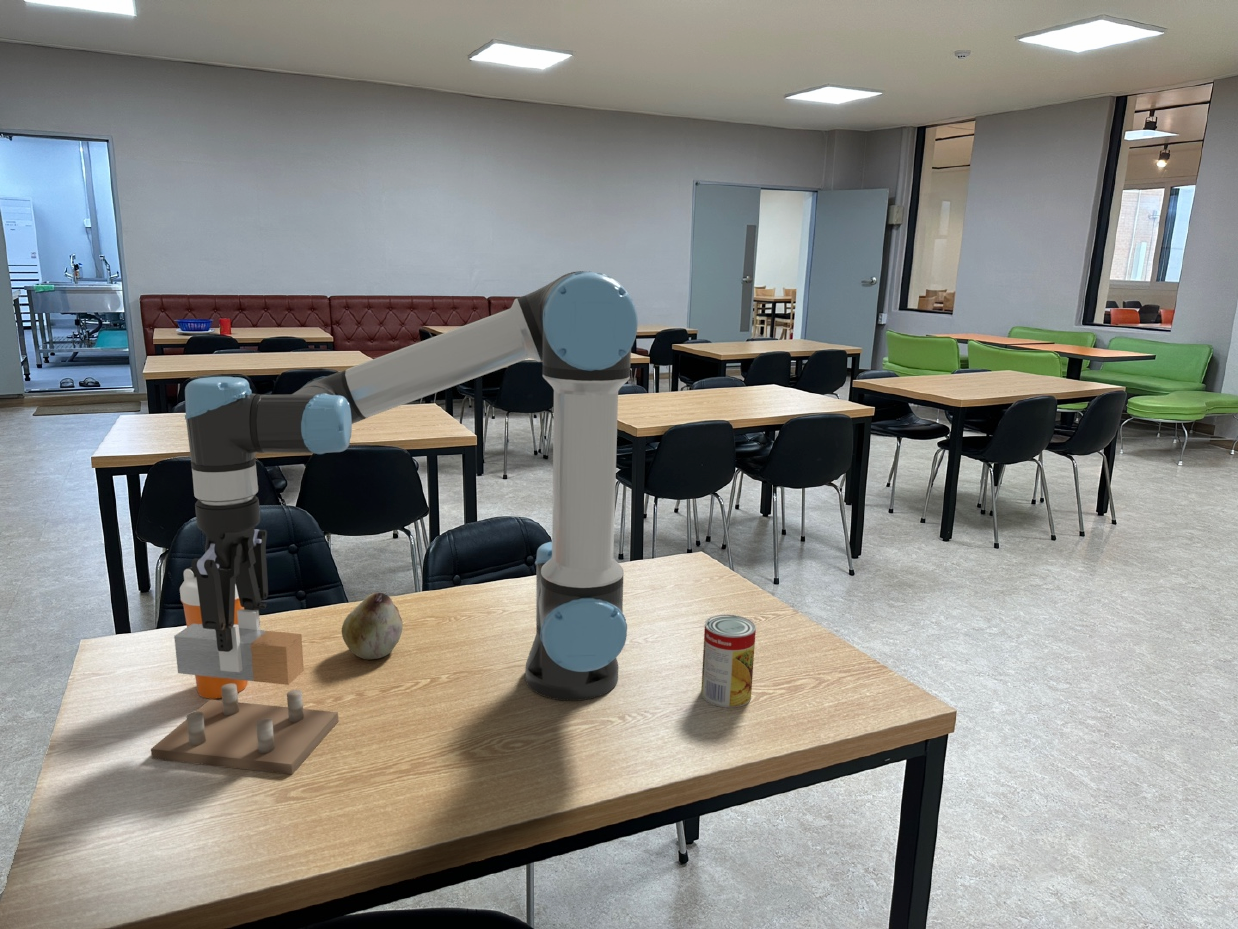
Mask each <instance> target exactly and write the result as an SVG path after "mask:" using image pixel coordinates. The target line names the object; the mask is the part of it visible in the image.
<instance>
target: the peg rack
mask: <svg viewBox="0 0 1238 929" xmlns="http://www.w3.org/2000/svg"><path fill="white" fill-rule="evenodd" d="M221 691H222V698H221V700H217V699H208V701H207V702H206V703H204V704H203V705H202V706H201V707H200V708H198V709H197V710H196V711H192V712H190V713H188V714H187V715H186V719H185V720H183V722H181V723H179V725H178V726H177V727H176V728H174V729H173V730H172V731H170V732H169V733H168V734H167V735H166V736H165V737H164V738H163V737H162V739H161V740H160V741H158V742H157V743H156V744H155V745H154V746H153V747H151V748H150V752H151V753H150V755H151V759H152V760H158V761H167V762H168V761H169V762H177V763H187V764H193V765H194V764H195V765H196V764H197V765H202V766H203V765H204V766H205V765H206V766H212V767H213V766H214V767H223V768H232V769H240V770H249V771H258V772H268V773H276V774H286V775H293V774H294V773H296V771H297V769H299V767H300V766H301V765H302V764H303V763H305V760H306V759H307V758H309V756H310V755H311V753H313V751H315V749H316V748H317V747H318V746H319V745H320V743H321V742H322V741H323V740H324V739H325V737H326V736H327V735H328V734H329V733H330V732H331V730H333V729H334V727H335V726H336V725H337V724H338V723H339V713H338V711H330V710H321V709H320V710H318V709H310V708H304V703H303V691H302V690H301V689H291V690H289V691H288V692H287V693H286V701H287V702H286V703H287V706H280V705H279V706H278V705H269V704H257V703H250V702H249V703H248V702H239V699H238V696H239V695H238V693H237V685H236V684H234V683H230V684H226V685H223V686H222V687H221Z"/></svg>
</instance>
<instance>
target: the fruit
mask: <svg viewBox="0 0 1238 929" xmlns="http://www.w3.org/2000/svg"><path fill="white" fill-rule="evenodd" d="M403 623H404V622H403V619H402V617H401V615H400V610H399V608H398V607H397V606H396V605H395V604H394V602H393V600H392V598H391V597H390V596H389V595H388V594H386V593H384V592H374V593H371V594H369V595H368V596H366V597H365V598H364V599H362V601H361V602H360V603H359V604H358V605H357V606H356V607H355V608H354V609H353V610H351V611H350V612H349V613H348V614H347V616H346V617H345V619H344V620H343V623H342V626H341V637H342V639H343V641H344V643H345V645H346V647H347V648H348V649H349V650H350V652H351V653H352V654H354V655H355V656H356V657H358V658H361V659H363V660H376V659H381V658H383V657H386V656H387V655H389V654H390V653H392V651H393V650H394V648H395V647H396V645H397V644H398V643H399V641H400V639H401V636H402V633H403V625H404V624H403Z"/></svg>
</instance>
